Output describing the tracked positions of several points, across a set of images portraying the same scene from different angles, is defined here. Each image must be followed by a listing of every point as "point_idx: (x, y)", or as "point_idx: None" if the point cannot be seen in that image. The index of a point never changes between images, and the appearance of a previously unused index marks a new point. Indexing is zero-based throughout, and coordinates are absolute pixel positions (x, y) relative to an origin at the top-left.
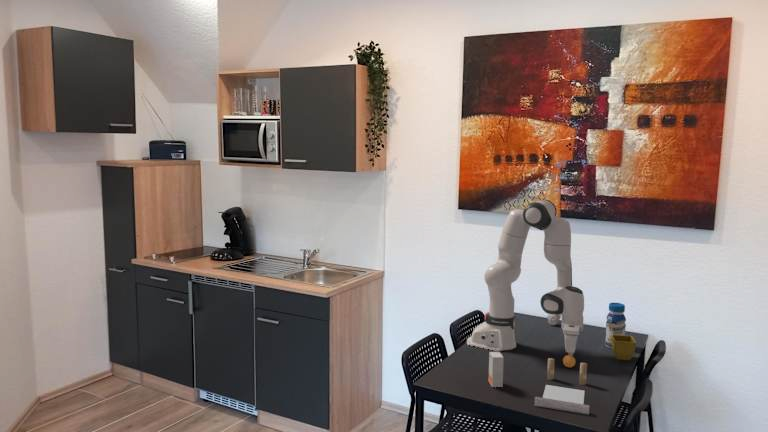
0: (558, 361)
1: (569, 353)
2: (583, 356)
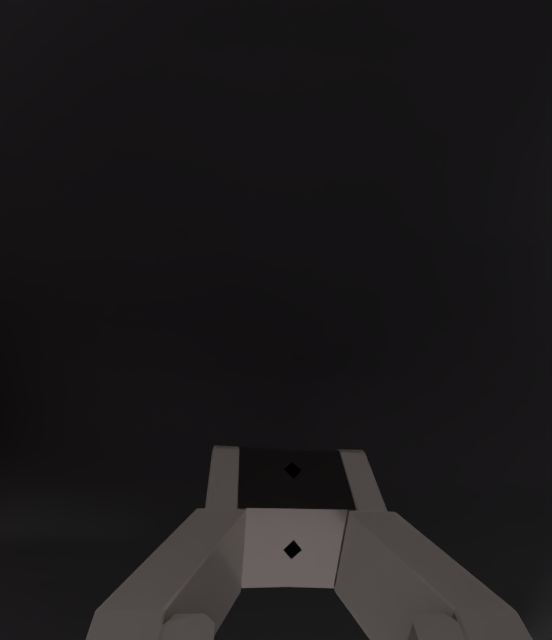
0: (123, 211)
1: (206, 519)
2: (504, 572)
